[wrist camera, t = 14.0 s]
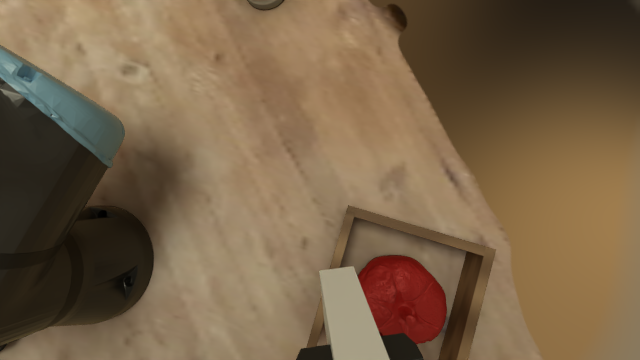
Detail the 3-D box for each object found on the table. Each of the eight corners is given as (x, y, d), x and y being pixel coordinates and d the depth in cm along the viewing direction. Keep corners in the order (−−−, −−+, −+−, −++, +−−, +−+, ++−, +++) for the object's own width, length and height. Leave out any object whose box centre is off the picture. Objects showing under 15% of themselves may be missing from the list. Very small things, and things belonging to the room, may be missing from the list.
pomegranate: (370, 238, 37) (374, 244, 28) (448, 272, 35) (480, 291, 26) (339, 313, 36) (334, 345, 27) (418, 351, 35) (440, 399, 26)
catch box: (443, 378, 34) (456, 403, 30) (312, 330, 36) (306, 347, 32) (478, 244, 35) (496, 249, 31) (348, 206, 37) (348, 205, 33)
